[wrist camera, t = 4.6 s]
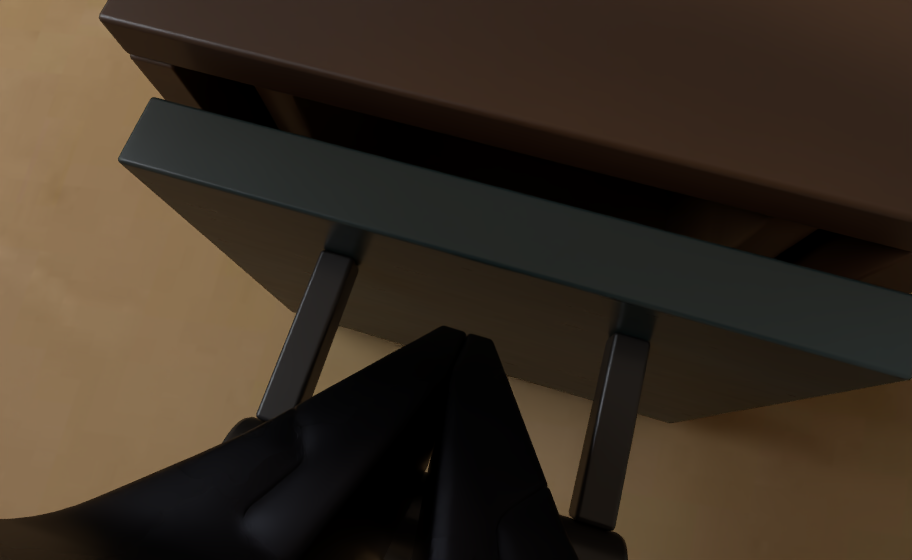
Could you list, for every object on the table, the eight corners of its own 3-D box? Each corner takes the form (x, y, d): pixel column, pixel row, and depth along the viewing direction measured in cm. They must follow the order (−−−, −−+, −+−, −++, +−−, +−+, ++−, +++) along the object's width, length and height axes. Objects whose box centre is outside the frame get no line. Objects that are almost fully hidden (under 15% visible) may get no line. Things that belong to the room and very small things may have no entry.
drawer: (642, 590, 14) (896, 776, 6) (232, 456, 15) (-45, 451, 7) (738, 40, 19) (947, -278, 11) (426, -29, 21) (401, -366, 12)
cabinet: (690, 376, 17) (1032, 249, 7) (301, 264, 18) (94, 16, 8) (753, 3, 21) (1021, -419, 11) (434, -66, 22) (410, -501, 12)
